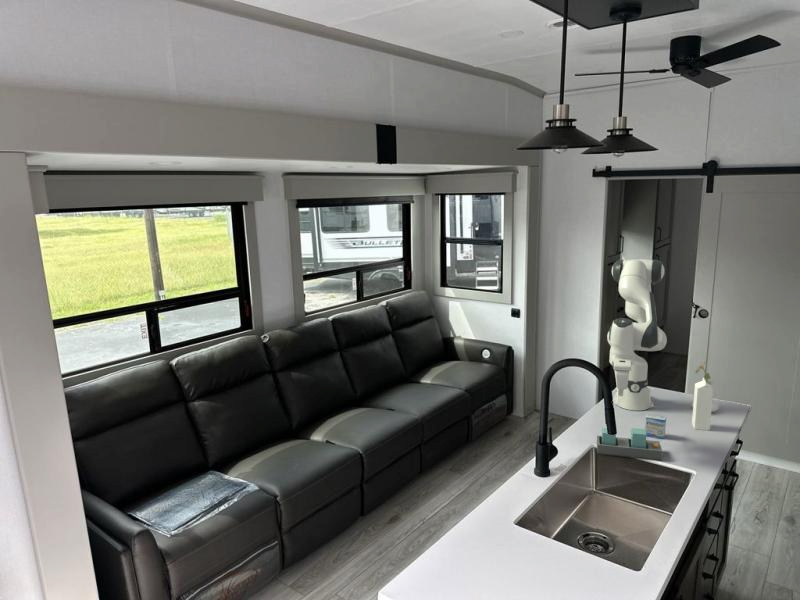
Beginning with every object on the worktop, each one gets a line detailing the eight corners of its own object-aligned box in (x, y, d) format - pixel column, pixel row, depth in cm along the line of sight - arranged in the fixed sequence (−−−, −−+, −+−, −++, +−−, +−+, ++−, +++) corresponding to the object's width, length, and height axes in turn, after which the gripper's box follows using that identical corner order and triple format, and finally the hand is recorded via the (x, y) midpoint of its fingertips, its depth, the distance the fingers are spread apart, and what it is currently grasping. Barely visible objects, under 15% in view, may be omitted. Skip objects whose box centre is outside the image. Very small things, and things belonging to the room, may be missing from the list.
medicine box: (644, 436, 239) (645, 417, 237) (645, 431, 243) (646, 413, 241) (664, 439, 235) (665, 420, 234) (665, 435, 239) (666, 416, 237)
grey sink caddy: (596, 444, 233) (597, 423, 231) (658, 450, 226) (660, 428, 224) (597, 454, 225) (598, 432, 223) (661, 460, 218) (663, 438, 216)
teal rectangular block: (601, 445, 231) (602, 427, 230) (614, 446, 230) (615, 428, 228) (601, 451, 227) (602, 432, 225) (615, 452, 225) (615, 434, 223)
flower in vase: (700, 402, 270) (703, 353, 265) (723, 410, 261) (728, 359, 256) (684, 409, 264) (687, 358, 258) (707, 417, 254) (712, 365, 249)
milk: (694, 429, 243) (697, 381, 239) (691, 423, 249) (695, 376, 244) (710, 430, 242) (713, 382, 237) (707, 424, 247) (710, 377, 242)
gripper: (611, 349, 235) (610, 380, 239) (614, 367, 217) (612, 400, 220) (627, 350, 233) (626, 381, 237) (631, 368, 215) (630, 401, 218)
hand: (619, 390), depth 228 cm, fingers open, 8 cm apart
